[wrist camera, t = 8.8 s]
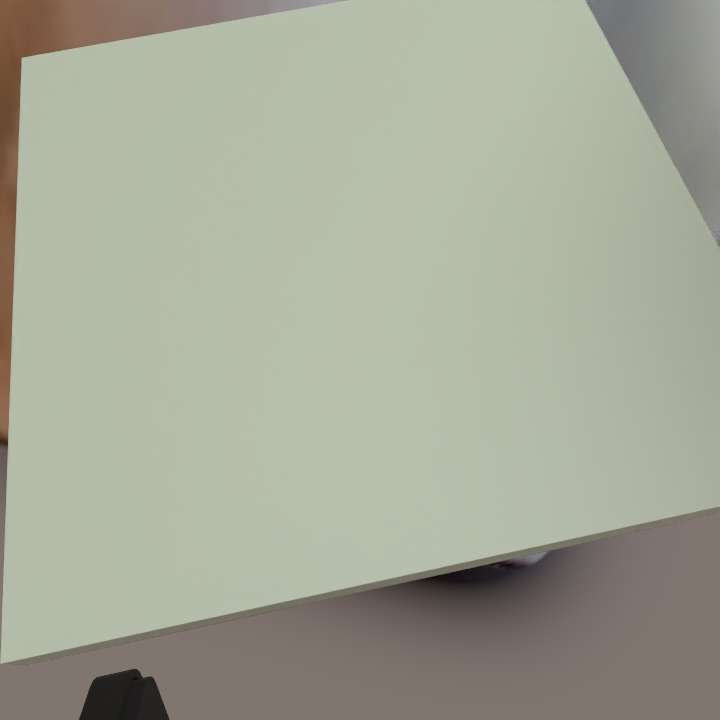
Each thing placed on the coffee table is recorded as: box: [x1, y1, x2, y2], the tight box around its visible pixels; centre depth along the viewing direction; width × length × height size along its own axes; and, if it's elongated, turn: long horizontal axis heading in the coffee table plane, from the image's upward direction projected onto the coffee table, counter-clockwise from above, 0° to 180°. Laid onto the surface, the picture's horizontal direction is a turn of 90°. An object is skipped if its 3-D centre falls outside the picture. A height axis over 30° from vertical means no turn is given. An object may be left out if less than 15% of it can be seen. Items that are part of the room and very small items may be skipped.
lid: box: [1, 0, 720, 665], centre depth 17 cm, size 17×17×1 cm
